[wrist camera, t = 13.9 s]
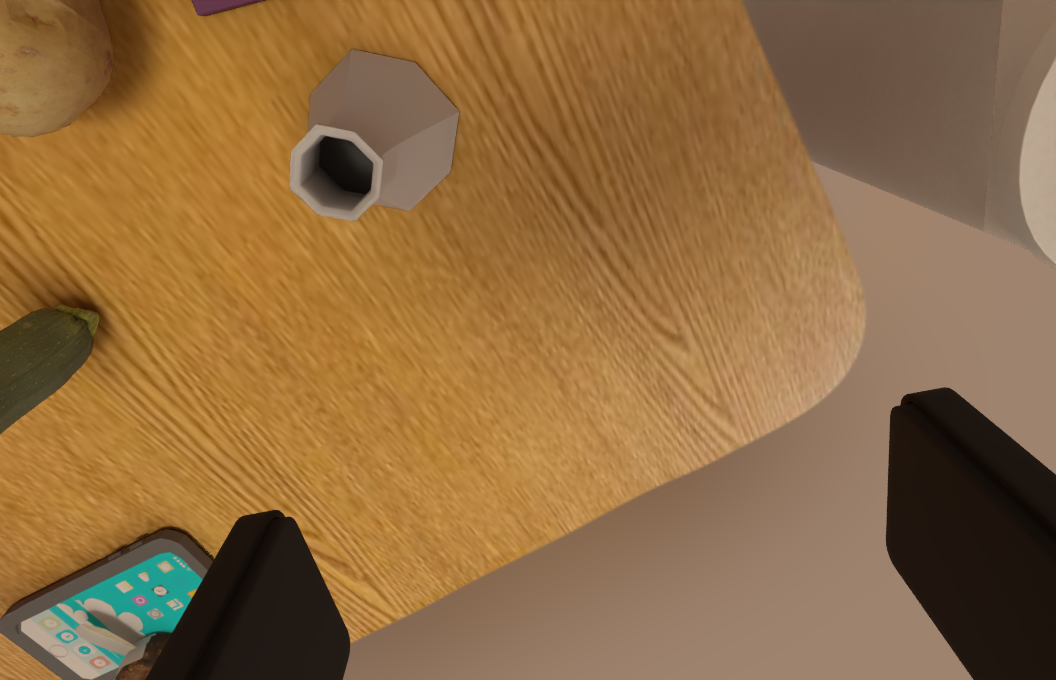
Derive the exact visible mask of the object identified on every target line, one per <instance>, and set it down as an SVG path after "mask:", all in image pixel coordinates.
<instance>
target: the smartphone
mask: <svg viewBox="0 0 1056 680" xmlns="http://www.w3.org/2000/svg"><path fill="white" fill-rule="evenodd" d="M212 563H213V561H212V560H211V559H210V558H209V557H208V556H207V555H206V554H205V553H204V552H203V551H202V550H201V549H200V548H199V547H198V546H197V545H196V544H195V543H194V542H193V541H192V540H191V539H189V538H188V537H187V536H186V535H185V534H183V533H180V532H177V531H173V530H168V529H165V530H162V531H159V532H157V533H155V534H153V535H151V536H149V537H147V538H145V539H142V540H140V541H138V542H136V543H134V544H132V545H131V546H129V547H127V548H125V549H123V550H120V551H118V552H116V553H114V554H112V555H110V556H109V557H107V558H105V559H103V560H101V561H99V562H97V563H95V564H93V565H91V566H89V567H87V568H85V569H83V570H81V571H79V572H77V573H75V574H73V575H71V576H69V577H67V578H65V579H63V580H61V581H59V582H57V583H55V584H53V585H51V586H49V587H47V588H45V589H43V590H41V591H39V592H37V593H35V594H33V595H31V596H29V597H27V598H25V599H23V600H21V601H19V602H17V603H16V604H15V605H14V606H12V607H11V608H10V609H9V610H8V611H7V612H6V613H5V614H4V615H3V616H2V617H1V619H0V633H2V634H3V635H4V636H6V637H7V638H8V639H10V640H11V641H12V642H14V643H15V644H16V645H18V646H19V647H20V648H22V649H23V650H24V651H26V652H27V653H28V654H30V655H31V656H32V657H34V658H35V659H36V660H38V661H39V662H40V663H42V664H43V665H44V666H45V667H47V668H48V669H49V670H51V671H52V672H53V673H55V674H56V675H57V676H59V677H60V678H61V679H63V680H114V679H116V675H117V672H118V668H119V666H120V664H121V662H122V660H123V659H124V657H125V656H124V655H122V654H119V653H116V652H113V651H111V650H108V649H105V648H102V647H100V646H97V645H94V644H92V643H90V642H88V641H87V640H85V639H83V638H81V637H80V636H79V635H78V634H77V633H76V632H75V628H76V627H77V626H79V625H81V624H87V625H91V626H95V627H99V628H103V629H106V630H108V631H110V632H111V633H113V634H115V635H117V636H118V637H120V638H122V639H123V640H125V641H127V642H129V643H130V644H132V645H134V644H135V643H136V642H137V641H139V640H141V639H143V638H145V637H147V636H149V635H151V634H153V633H157V632H165V633H172V632H173V630H174V629H175V627H176V625H177V623H178V622H179V620H180V618H181V616H182V615H183V613H184V611H185V609H186V608H187V606H188V604H189V602H190V601H191V599H192V597H193V596H194V594H195V592H196V590H197V589H198V587H199V585H200V583H201V582H202V580H203V578H204V576H205V575H206V573H207V571H208V570H209V568H210V566H211V564H212Z"/></svg>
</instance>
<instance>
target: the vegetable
mask: <svg viewBox="0 0 1056 680" xmlns="http://www.w3.org/2000/svg"><path fill="white" fill-rule="evenodd" d="M98 321H99V315H98V313H97V312H94V311H90V310H83V309H80V308H72V307H68V306H66V305H63V304H62V305H58V306H55V307H54V308H53V309H50V308H44V309H39V310H36V311H34V312H31V313H29V314H27V315H26V316H24V317H22V318H21V319H19V320H18V321H16V322H15V323H13V324H11V325H10V326H8V327H6V328H4V329H3V330H1V331H0V434H1V433H2V432H4V431H5V430H6V429H7V428H8V427H9V426H11V425H12V424H13V423H15V422H16V421H17V420H18V419H20V418H21V417H22V416H24V415H25V414H26V413H28V412H29V411H30V410H32V409H33V408H34V407H36V406H37V405H38V404H40V403H41V402H42V401H44V400H45V399H47V398H48V397H49V396H51V395H52V394H53V393H55V392H56V391H57V390H58V389H59V388H61V387H62V386H63V385H64V384H65V383H66V382H67V381H68V380H69V379H70V377H71V376H72V375H73V374H74V373H75V372H76V371H77V370H78V369H79V368H80V367H81V366H82V365H83V364H84V362H85V361H86V360H87V359H88V357H89V355H90V353H91V351H92V348H93V336H94V334H95V332H96V330H97V325H98Z"/></svg>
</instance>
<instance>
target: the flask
mask: <svg viewBox="0 0 1056 680" xmlns="http://www.w3.org/2000/svg"><path fill="white" fill-rule="evenodd" d="M458 118H459V111H458V110H457V109H456V107H455V106H454V105H453V104H452V103H451V102H450V101H449V100H448V98H447V97H446V96H445V95H444V94H443V93H442V92H441V91H440V90H439V88H438V87H437V86H436V85H435V84H434V83H433V82H432V81H431V79H430V78H429V77H428V76H427V75H426V74H425V73H424V72H423V71H422V69H421V68H420V67H419V66H418V65H417V64H416V63H415V62H410V61H406V60H401V59H396V58H392V57H387V56H382V55H378V54H373V53H368V52H364V51H359V50H354V49H351V50H350V52H349V53H348V54H347V55H346V56H345V57H344V58H343V59H342V60H341V61H340V62H339V63H338V65H337V66H336V67H335V68H334V69H333V70H332V71H331V72H330V73H329V74H328V75H327V76H326V78H325V79H324V80H323V81H322V82H321V83H320V84H319V85H318V86H317V87H316V88H315V89H314V91H313V92H312V93H311V94H310V105H309V123H308V134H307V135H306V136H305V137H304V138H303V139H302V140H301V141H300V142H299V143H298V144H297V145H296V146H295V147H294V148H293V150H292V151H291V167H290V189H291V190H292V191H293V192H294V193H295V194H297V195H298V196H299V197H300V198H301V199H302V200H303V201H304V202H305V203H306V204H307V205H308V206H309V207H310V208H311V209H312V210H314V211H315V212H316V213H317V214H318V215H322V216H327V217H333V218H338V219H344V220H349V221H356V220H357V219H358V218H359V217H360V216H361V215H362V214H363V213H364V212H365V211H366V210H367V209H368V208H369V207H370V206H371V205H372V204H374V205H380V206H385V207H390V208H396V209H401V210H407V211H410V210H411V209H412V208H413V207H414V206H415V205H416V204H418V203H419V202H420V201H421V200H422V199H423V198H424V197H425V196H426V195H427V194H428V193H429V192H430V191H431V190H432V189H433V188H434V187H435V186H436V185H437V184H439V183H440V182H441V181H442V180H443V179H444V178H445V177H446V176H447V175H448V174H449V173H450V171H451V165H452V158H453V151H454V145H455V138H456V131H457V124H458Z"/></svg>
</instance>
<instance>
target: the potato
mask: <svg viewBox="0 0 1056 680" xmlns="http://www.w3.org/2000/svg"><path fill="white" fill-rule="evenodd" d="M112 69H113V47H112V41H111V37H110V33H109V30H108V26H107V22H106V19H105V16H104V14H103V11H102V8H101V6H100V3H99V0H0V134H4V135H9V136H13V137H17V136H28V137H35V136H39V135H43V134H47V133H51V132H55V131H58V130H60V129H62V128H64V127H66V126H68V125H70V124H71V123H72V122H73V121H74V120H76V119H77V118H78V117H79V116H80V115H81V114H82V113H83V112H84V111H85V110H86V109H88V108H89V107H90V106H91V105H92V104H93V103H94V102H95V101H96V100H97V99H98V98H99V96H100V95H101V93H102V92H103V91H104V89H105V88H106V86H107V85H108V83H109V80H110V77H111V74H112Z"/></svg>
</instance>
